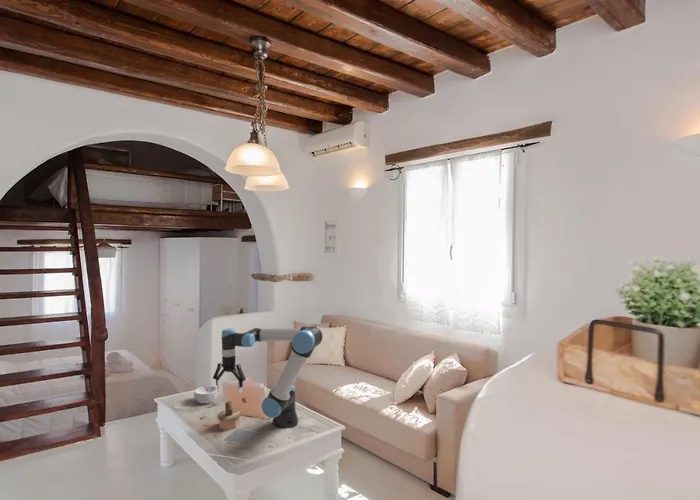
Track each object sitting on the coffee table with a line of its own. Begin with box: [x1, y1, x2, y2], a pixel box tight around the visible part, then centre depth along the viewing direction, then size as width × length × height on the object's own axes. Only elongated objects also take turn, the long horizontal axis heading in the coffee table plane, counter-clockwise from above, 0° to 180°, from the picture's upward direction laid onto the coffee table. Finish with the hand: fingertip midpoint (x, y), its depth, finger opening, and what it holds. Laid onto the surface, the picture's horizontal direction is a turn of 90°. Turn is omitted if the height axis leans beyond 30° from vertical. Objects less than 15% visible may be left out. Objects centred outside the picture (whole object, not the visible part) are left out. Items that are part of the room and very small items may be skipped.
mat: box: [223, 428, 260, 444], centre depth 238 cm, size 14×14×1 cm
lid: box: [216, 400, 241, 421], centre depth 251 cm, size 13×13×8 cm
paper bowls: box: [193, 385, 219, 405], centre depth 290 cm, size 15×15×8 cm
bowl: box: [218, 417, 240, 431], centre depth 251 cm, size 11×11×6 cm
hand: (229, 391), depth 251 cm, fingers open, 13 cm apart
